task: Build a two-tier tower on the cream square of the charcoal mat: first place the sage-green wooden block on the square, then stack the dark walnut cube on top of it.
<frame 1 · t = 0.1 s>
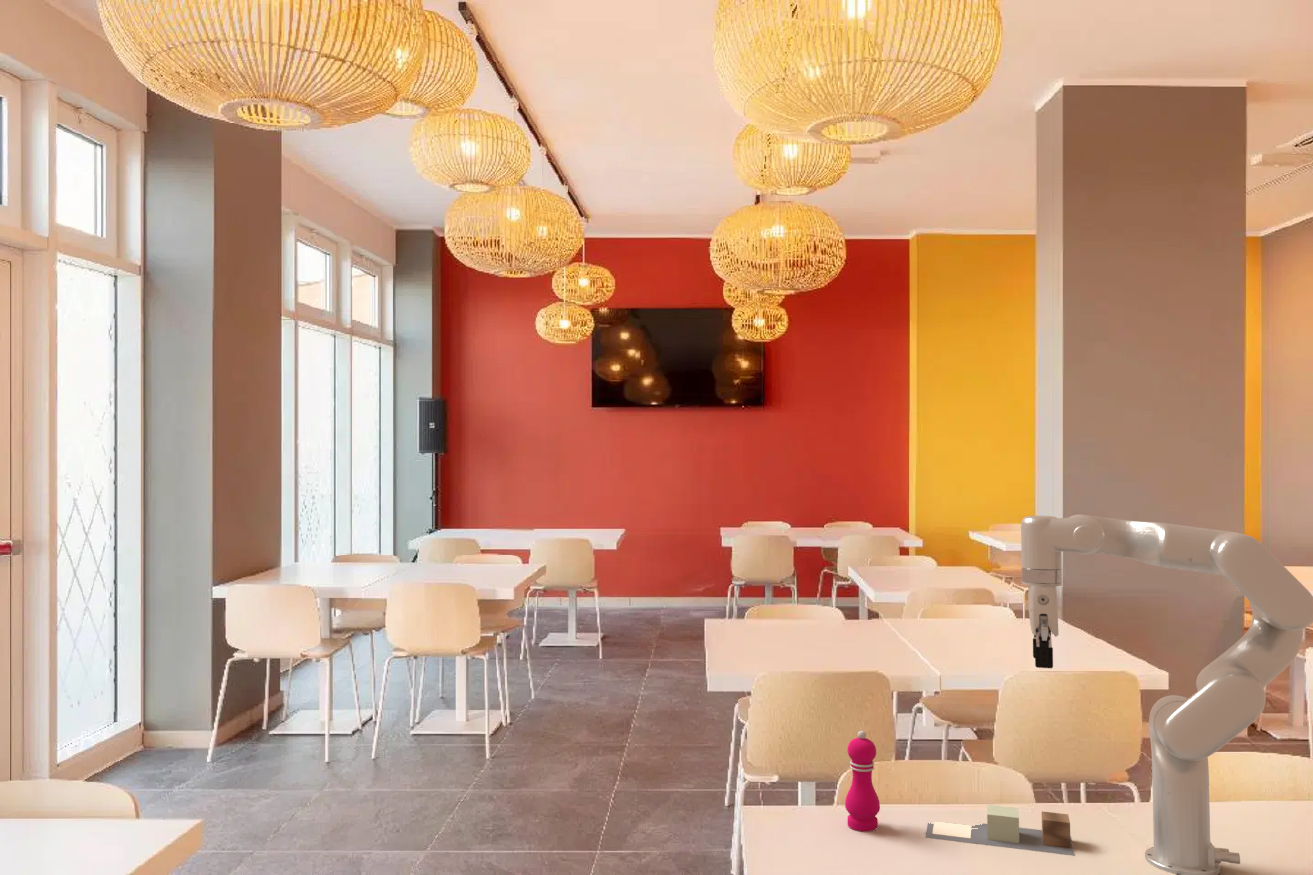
hand: (1042, 662, 189), 37 cm above the table, tool pointing down, fingers open, 9 cm apart
build mat: (998, 837, 194), on the table
walnut cube: (1056, 842, 190), resting on build mat
sage block: (1003, 835, 193), resting on build mat
pepper mill: (862, 827, 200), on the table
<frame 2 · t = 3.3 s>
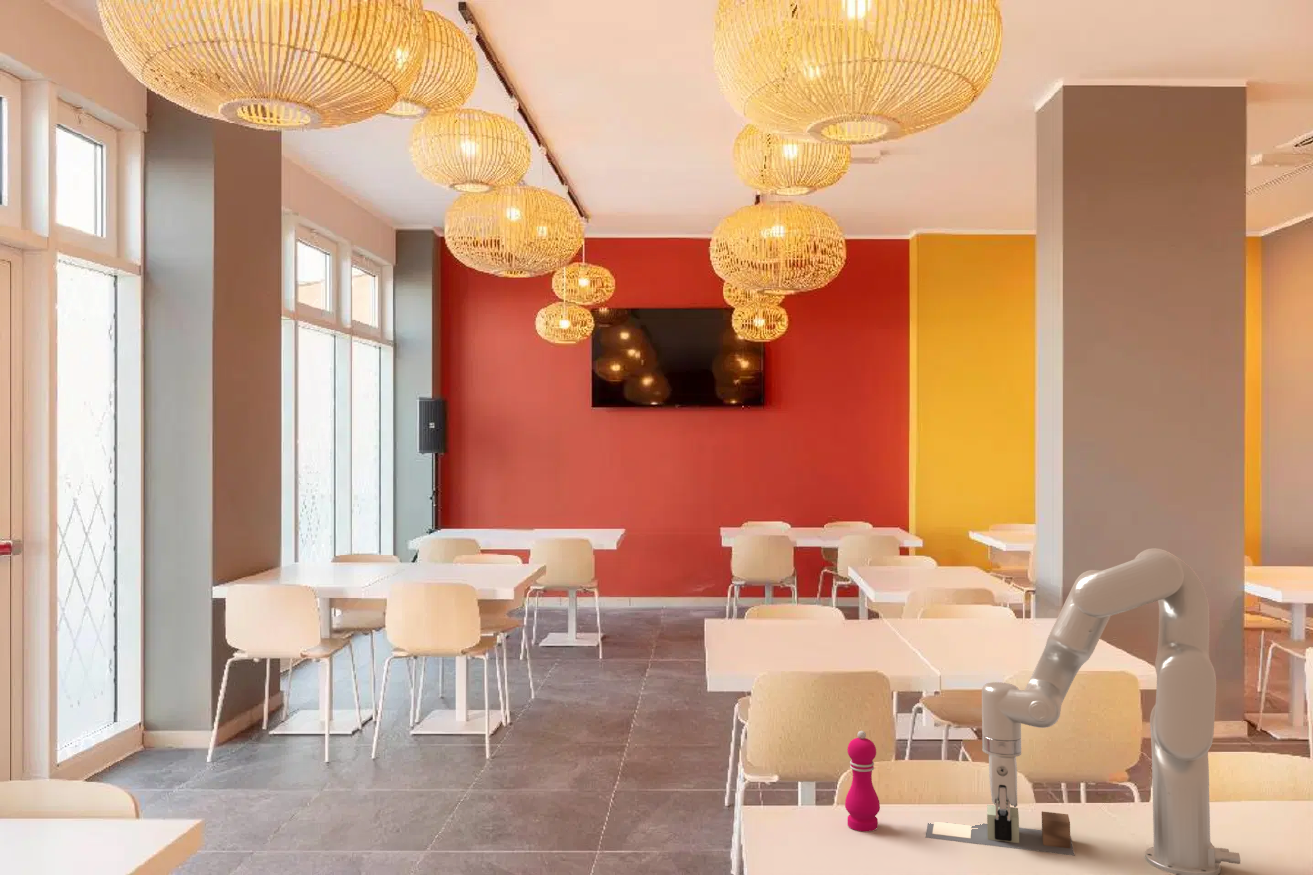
hand: (1003, 832, 193), 1 cm above the table, tool pointing down, fingers closed on sage block, 6 cm apart
sage block: (1003, 835, 193), resting on build mat, touching gripper
everything else where it was.
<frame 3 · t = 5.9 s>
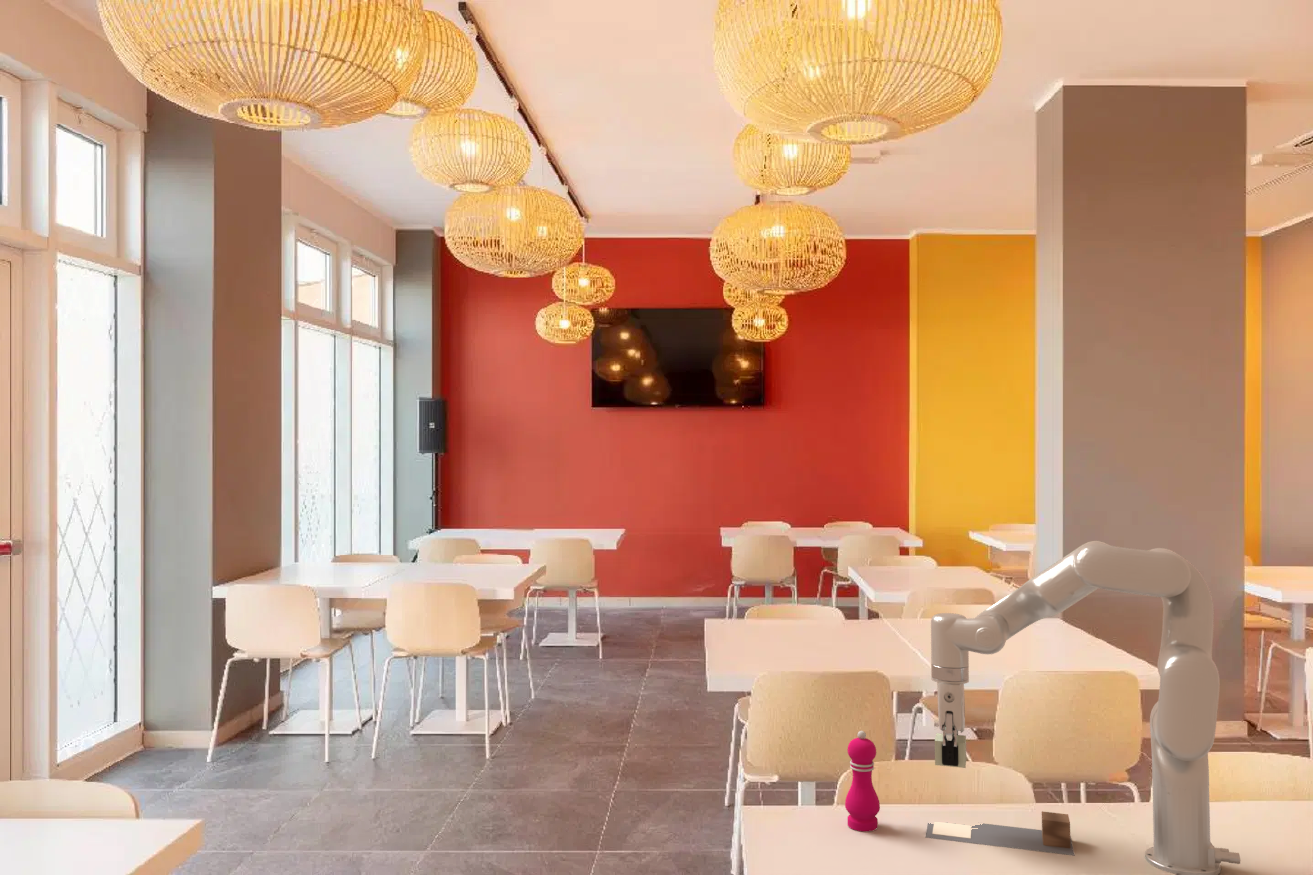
hand: (950, 759, 197), 15 cm above the table, tool pointing down, fingers closed on sage block, 6 cm apart
sage block: (950, 762, 197), point 14 cm above the table, touching gripper
everything else where it was.
when the fingers open (2 cm above the table, at t = 8.6 s): sage block stays where it is, resting on build mat.
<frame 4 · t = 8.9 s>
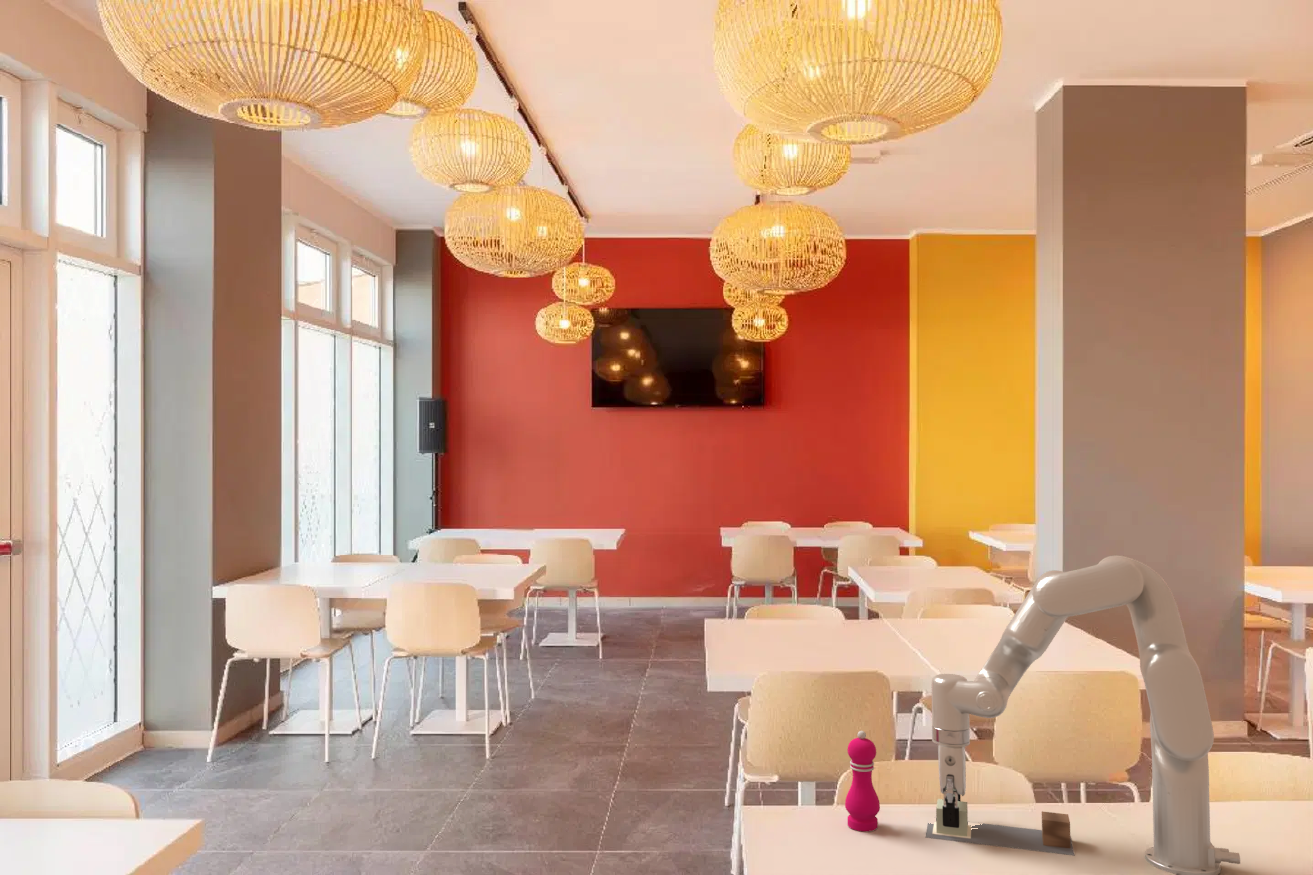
hand: (951, 818, 197), 3 cm above the table, tool pointing down, fingers open, 9 cm apart
sage block: (952, 829, 197), resting on build mat
everything else where it was.
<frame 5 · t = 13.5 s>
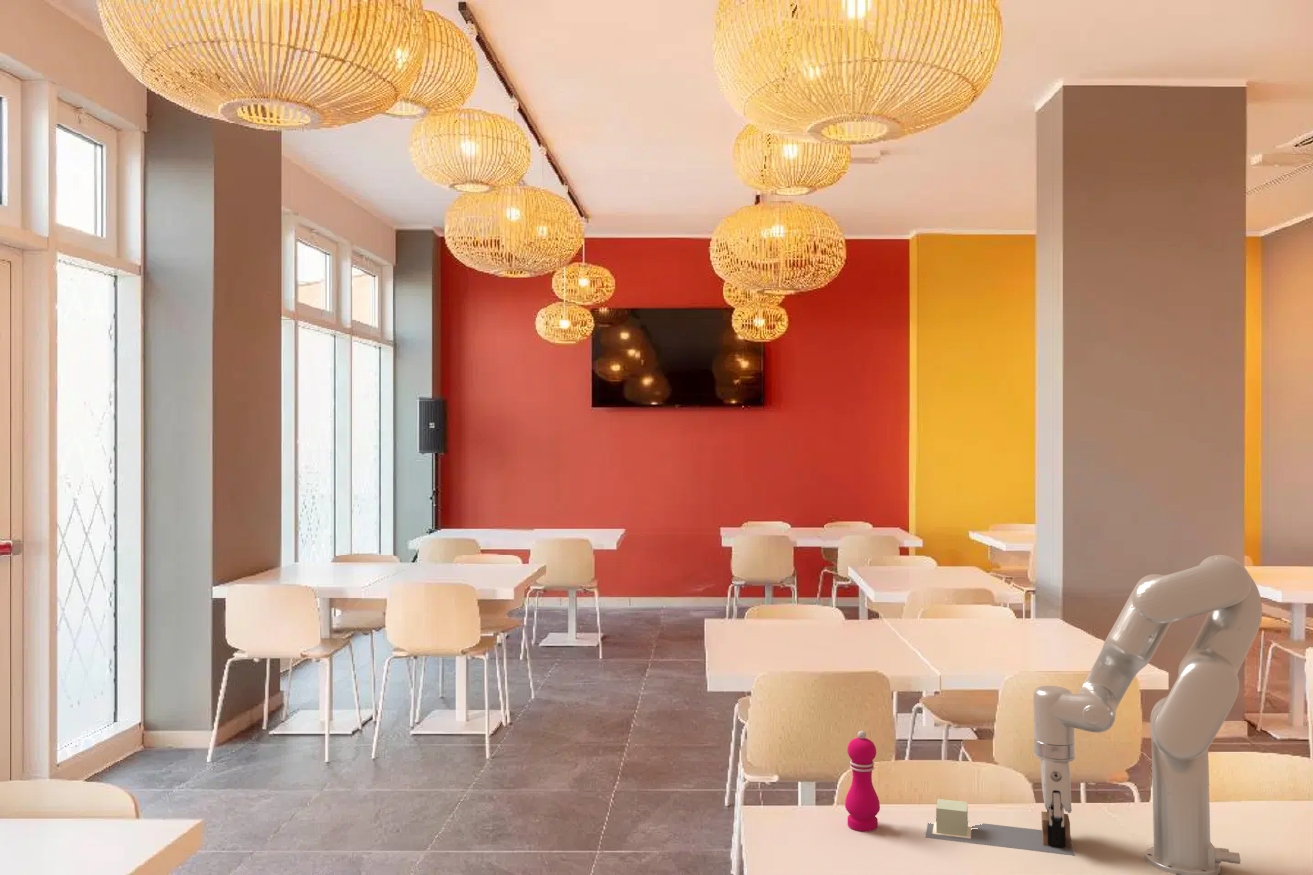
hand: (1055, 839, 190), 1 cm above the table, tool pointing down, fingers closed on walnut cube, 5 cm apart
walnut cube: (1056, 841, 190), resting on build mat, touching gripper
everything else where it was.
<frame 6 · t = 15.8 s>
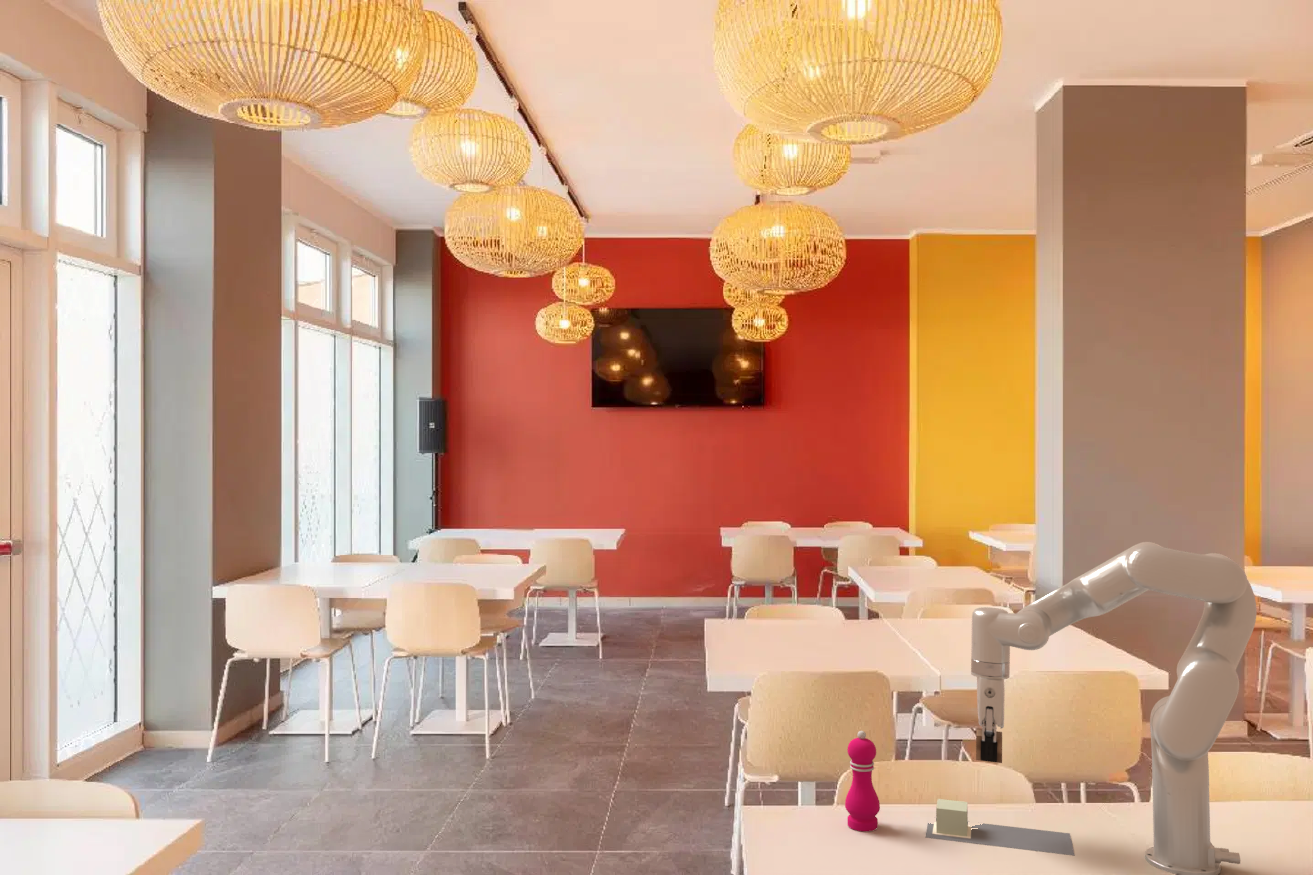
hand: (988, 756, 195), 16 cm above the table, tool pointing down, fingers closed on walnut cube, 4 cm apart
walnut cube: (989, 757, 195), point 16 cm above the table, touching gripper
everything else where it was.
when the fingers open (7 cm above the table, at t = 18.3 s): walnut cube stays where it is, resting on sage block.
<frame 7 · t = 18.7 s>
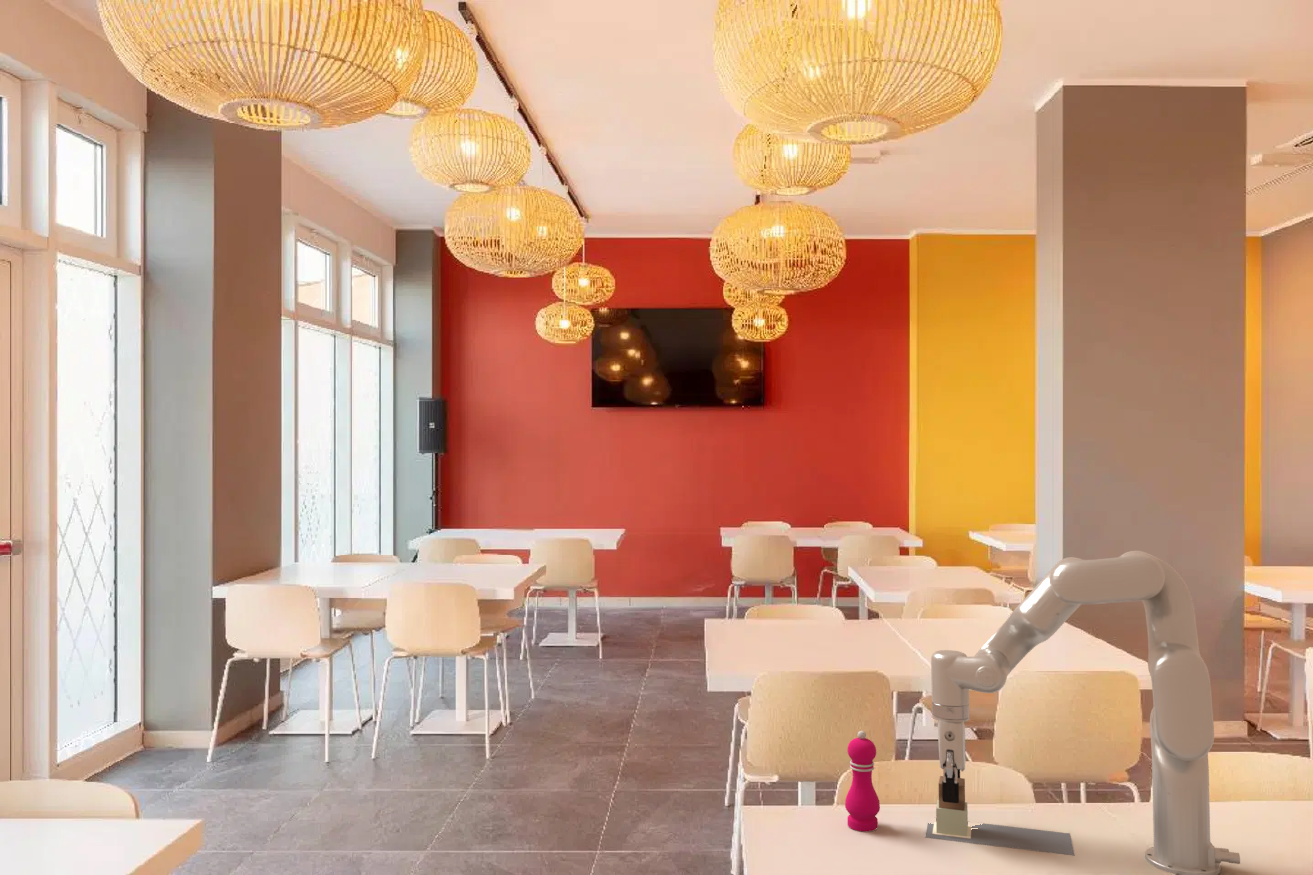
hand: (951, 794, 197), 8 cm above the table, tool pointing down, fingers open, 8 cm apart
walnut cube: (952, 805, 197), point 5 cm above the table, touching sage block
sage block: (952, 829, 197), resting on build mat, touching walnut cube
everything else where it was.
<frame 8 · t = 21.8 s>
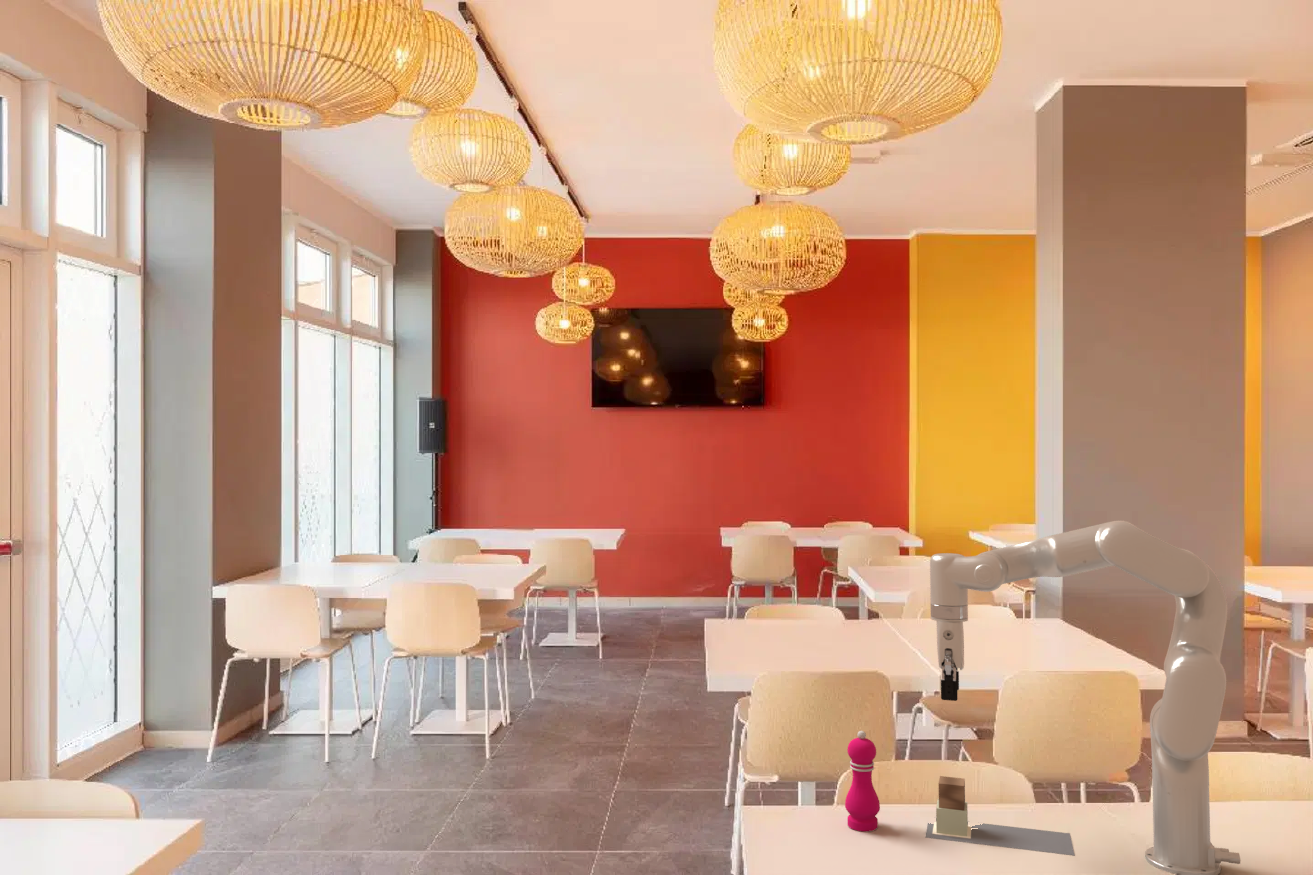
hand: (950, 694, 198), 28 cm above the table, tool pointing down, fingers open, 9 cm apart
nothing on the table moved.
at the end: sage block 0.0 cm from the target spot, point 0.5 cm above the table; walnut cube 0.1 cm off-centre on the sage block, point 5.0 cm above the sage block's base; walnut cube tilted 0° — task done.
